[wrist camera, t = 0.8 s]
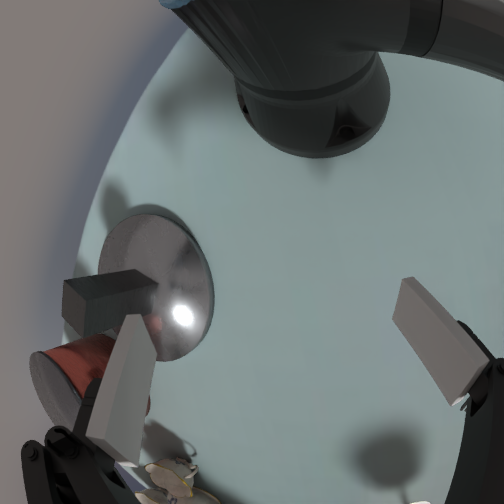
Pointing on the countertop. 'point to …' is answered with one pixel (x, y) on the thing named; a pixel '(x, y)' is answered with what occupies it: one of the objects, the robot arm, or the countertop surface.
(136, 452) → the robot arm
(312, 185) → the countertop surface
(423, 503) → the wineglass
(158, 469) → the chinaware
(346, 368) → the countertop surface
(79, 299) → the lid
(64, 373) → the pot
